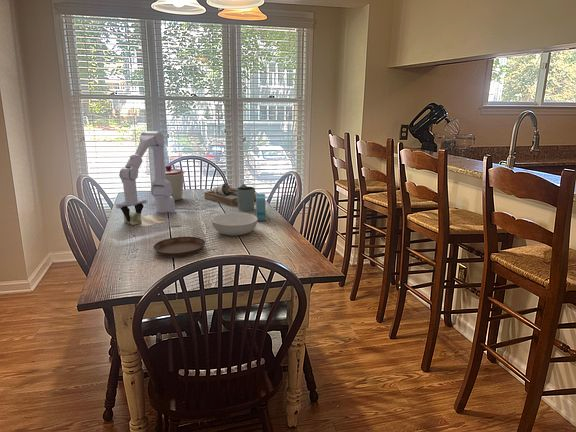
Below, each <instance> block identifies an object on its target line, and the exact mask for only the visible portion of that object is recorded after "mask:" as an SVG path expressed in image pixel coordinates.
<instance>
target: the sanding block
mask: <svg viewBox="0 0 576 432" xmlns="http://www.w3.org/2000/svg"><path fill="white" fill-rule="evenodd" d="M122 213H123V212H122ZM129 216H130V222H128V221H127V220H126V217H125V215H124V213H123V220H124V221H123V222H124V223H125V224H128V225H130V226H132V227H133V226H134V227H135V226H137V225H140V224H142V220H141V217H142V213H141V214H139V213H137V212H136V211H134V210H130V212H129Z"/></svg>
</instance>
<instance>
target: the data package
mask: <svg viewBox="0 0 576 432" xmlns="http://www.w3.org/2000/svg"><path fill="white" fill-rule="evenodd" d="M255 194H256V201H255V203H256V204H255V206H256V207H255V209H256V212H255V214H256V215H255V216H256V217H257V218H258V220H257V222H266V219H267V218H266V216H267V215H266V194H265V193H255Z"/></svg>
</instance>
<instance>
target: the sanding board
mask: <svg viewBox="0 0 576 432" xmlns="http://www.w3.org/2000/svg"><path fill="white" fill-rule="evenodd" d="M141 220H142V224H140V225H136V226H138V227H140V228H144V227H148V226H153V225H157V224H163V223H166V222H167V223H168V222H170V220H169V219H166V218H164V217H161V216H159V215H156V214H153V213H152V214H148V215H144V216H141Z"/></svg>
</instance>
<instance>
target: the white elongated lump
mask: <svg viewBox="0 0 576 432" xmlns="http://www.w3.org/2000/svg"><path fill="white" fill-rule="evenodd" d="M240 187H249V186H247V185H246V184H244V183H242V184H241V185H240ZM212 191H213V193H214V194H216V195H220V196H223V197H227V196H228V197H229V196H230V194H237V192H231V186H230V185H229V183H222V184H220V185H217V186H214V188H213V189H212Z"/></svg>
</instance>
